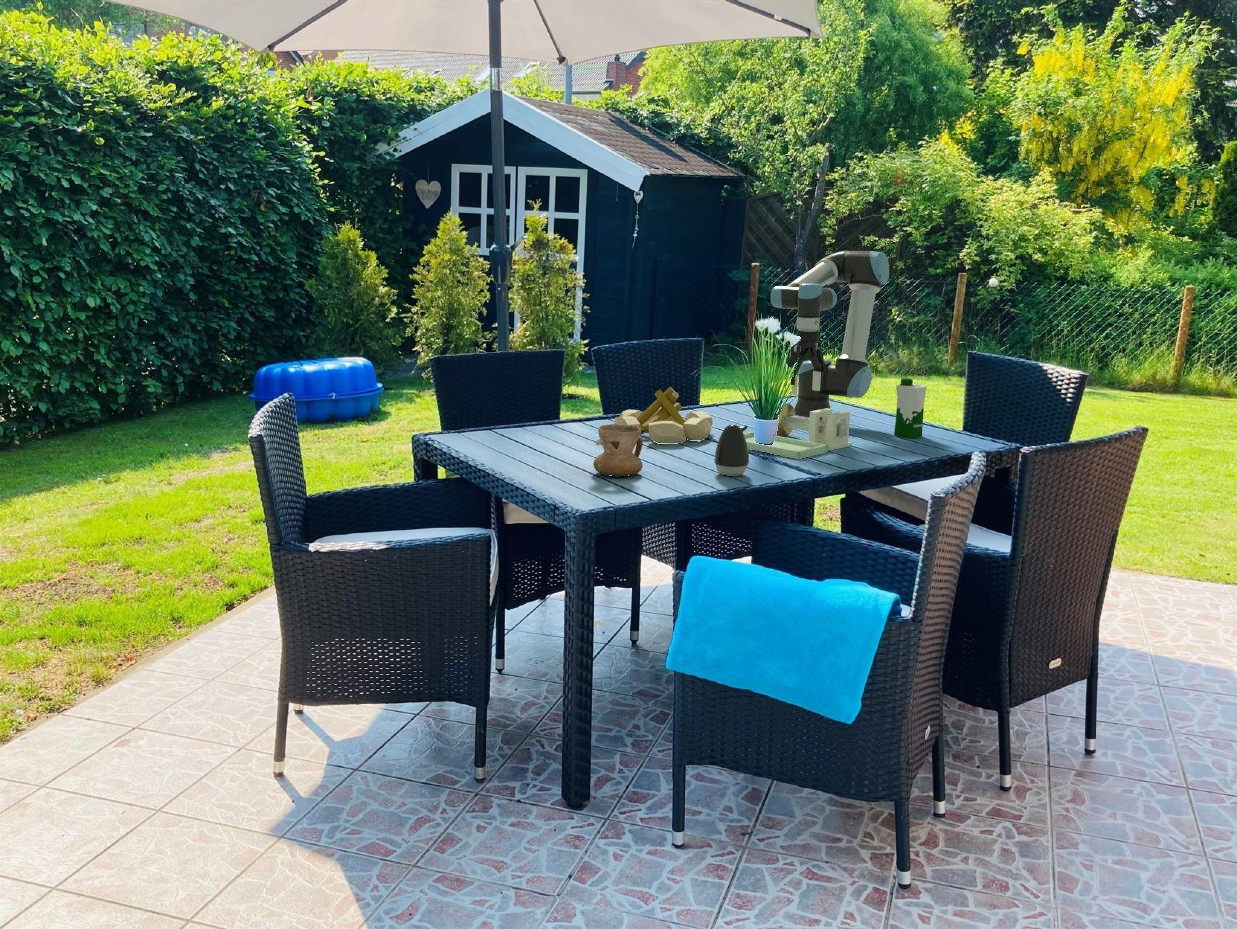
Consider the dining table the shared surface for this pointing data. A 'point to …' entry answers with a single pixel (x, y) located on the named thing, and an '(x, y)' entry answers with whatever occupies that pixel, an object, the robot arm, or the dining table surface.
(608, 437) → the ceramic jug
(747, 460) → the pump dispenser
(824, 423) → the gold disc post
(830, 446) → the double loop bracket
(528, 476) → the dining table surface
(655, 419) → the campfire
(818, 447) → the tray
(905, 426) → the milk carton
